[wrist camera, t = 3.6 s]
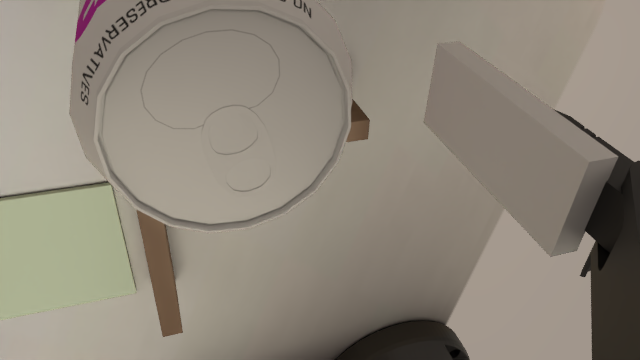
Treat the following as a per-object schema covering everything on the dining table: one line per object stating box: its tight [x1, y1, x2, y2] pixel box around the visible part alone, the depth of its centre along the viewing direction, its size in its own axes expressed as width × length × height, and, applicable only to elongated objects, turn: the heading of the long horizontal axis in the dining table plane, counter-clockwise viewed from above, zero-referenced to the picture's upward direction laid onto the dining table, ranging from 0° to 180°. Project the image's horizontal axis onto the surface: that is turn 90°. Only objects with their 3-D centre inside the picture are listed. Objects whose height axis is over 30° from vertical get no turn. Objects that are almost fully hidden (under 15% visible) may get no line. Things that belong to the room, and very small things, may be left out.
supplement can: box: [69, 0, 352, 233], centre depth 20 cm, size 8×8×15 cm
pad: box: [0, 182, 136, 320], centre depth 32 cm, size 10×9×1 cm
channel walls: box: [137, 99, 370, 337], centre depth 27 cm, size 27×28×4 cm
